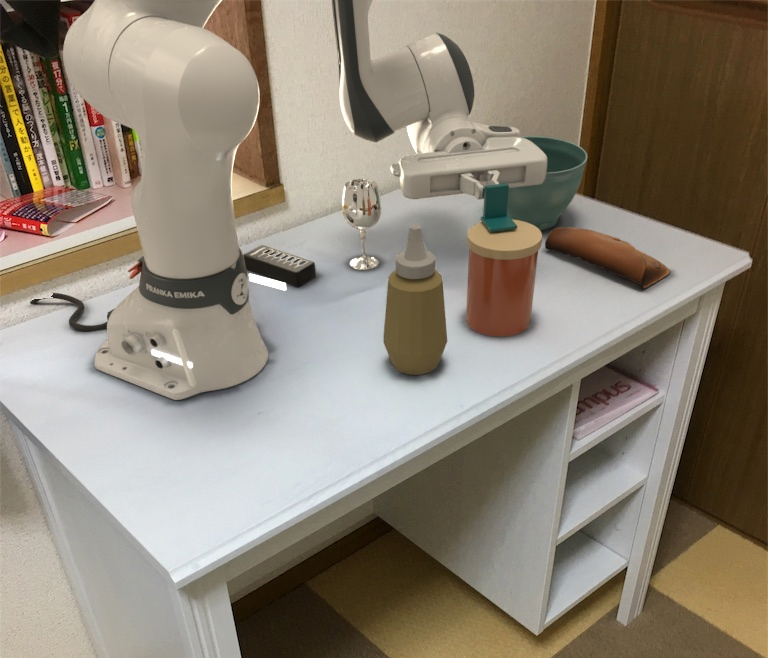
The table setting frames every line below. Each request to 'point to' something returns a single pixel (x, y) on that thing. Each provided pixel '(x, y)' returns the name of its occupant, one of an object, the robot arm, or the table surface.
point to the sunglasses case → (607, 254)
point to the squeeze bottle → (415, 310)
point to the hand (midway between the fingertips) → (489, 192)
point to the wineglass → (362, 214)
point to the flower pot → (549, 184)
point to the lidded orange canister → (500, 294)
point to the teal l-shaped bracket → (497, 208)
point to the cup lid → (505, 241)
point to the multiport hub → (280, 266)
